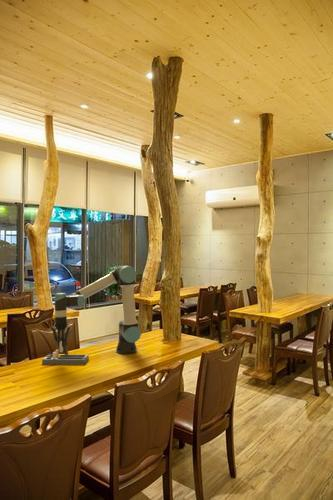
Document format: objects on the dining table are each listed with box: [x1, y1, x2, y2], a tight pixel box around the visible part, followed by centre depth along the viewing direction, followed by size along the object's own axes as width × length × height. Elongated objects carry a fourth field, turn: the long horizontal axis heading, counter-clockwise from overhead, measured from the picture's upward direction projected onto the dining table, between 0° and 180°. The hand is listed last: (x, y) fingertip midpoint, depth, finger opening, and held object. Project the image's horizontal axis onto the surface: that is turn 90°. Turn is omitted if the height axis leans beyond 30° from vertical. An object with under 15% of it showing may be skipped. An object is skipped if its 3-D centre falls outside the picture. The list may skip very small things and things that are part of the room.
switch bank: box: [41, 354, 90, 365], centre depth 240 cm, size 28×12×3 cm, turn 90°
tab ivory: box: [51, 351, 58, 359], centre depth 237 cm, size 4×3×5 cm
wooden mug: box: [55, 330, 72, 355], centre depth 258 cm, size 9×14×18 cm, turn 49°
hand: (61, 351), depth 238 cm, fingers closed
